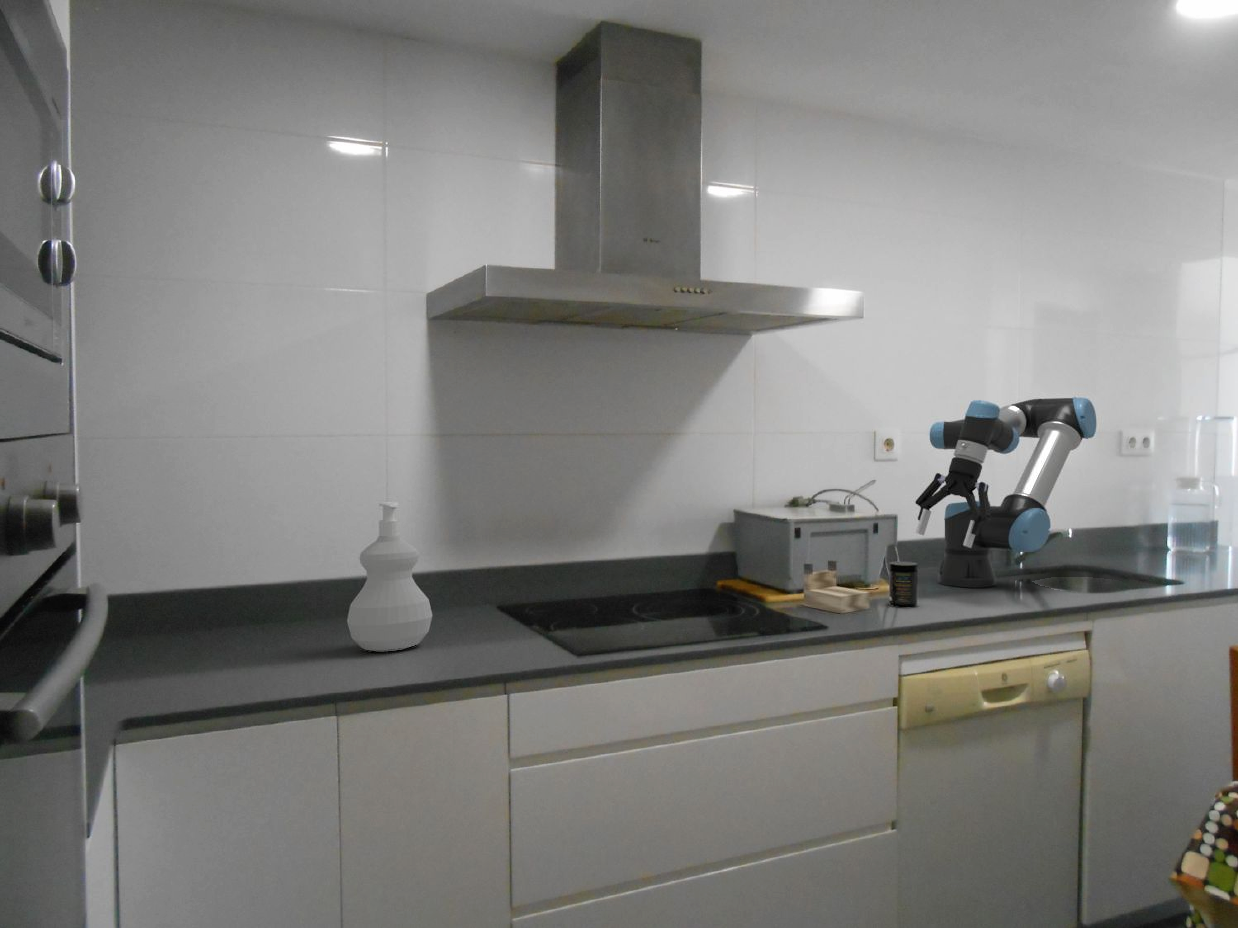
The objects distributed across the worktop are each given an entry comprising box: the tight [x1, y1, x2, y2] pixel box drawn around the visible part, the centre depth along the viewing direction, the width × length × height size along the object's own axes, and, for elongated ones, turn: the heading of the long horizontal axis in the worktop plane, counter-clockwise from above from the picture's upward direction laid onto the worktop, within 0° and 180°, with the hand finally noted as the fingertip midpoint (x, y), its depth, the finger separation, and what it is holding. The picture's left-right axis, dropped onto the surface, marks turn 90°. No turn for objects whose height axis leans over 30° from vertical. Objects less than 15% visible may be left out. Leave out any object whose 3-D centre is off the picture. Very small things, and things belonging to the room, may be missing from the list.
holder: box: [803, 559, 871, 614], centre depth 221 cm, size 10×12×10 cm
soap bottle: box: [346, 501, 433, 651], centre depth 181 cm, size 17×12×29 cm
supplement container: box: [888, 560, 919, 608], centre depth 223 cm, size 7×7×10 cm
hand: (942, 540), depth 229 cm, fingers open, 13 cm apart
